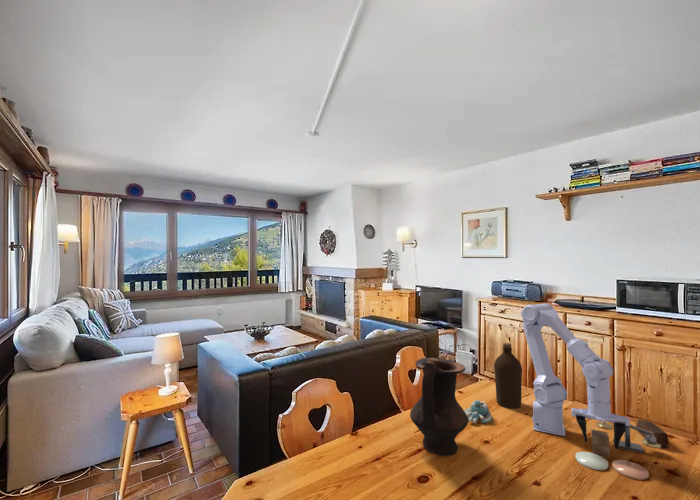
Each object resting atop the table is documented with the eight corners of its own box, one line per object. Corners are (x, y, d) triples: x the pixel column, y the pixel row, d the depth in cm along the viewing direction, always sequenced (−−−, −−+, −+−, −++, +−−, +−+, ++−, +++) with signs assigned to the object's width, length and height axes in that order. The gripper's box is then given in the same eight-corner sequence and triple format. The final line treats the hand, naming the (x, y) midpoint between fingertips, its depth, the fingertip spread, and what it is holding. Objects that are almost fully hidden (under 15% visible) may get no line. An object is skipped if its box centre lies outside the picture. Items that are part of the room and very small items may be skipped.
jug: (420, 427, 124) (419, 344, 125) (474, 440, 114) (471, 350, 115) (399, 456, 105) (397, 359, 106) (460, 475, 96) (457, 367, 97)
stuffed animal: (456, 407, 128) (468, 391, 137) (458, 424, 129) (469, 407, 138) (485, 415, 121) (495, 397, 130) (487, 433, 122) (497, 415, 131)
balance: (598, 444, 111) (597, 416, 111) (596, 437, 115) (595, 411, 115) (663, 457, 103) (661, 428, 103) (658, 450, 107) (657, 421, 107)
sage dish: (576, 465, 100) (576, 462, 100) (574, 451, 107) (574, 449, 107) (610, 473, 96) (610, 470, 96) (606, 458, 103) (606, 456, 103)
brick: (669, 449, 108) (668, 434, 108) (654, 447, 109) (653, 432, 109) (649, 432, 118) (649, 419, 118) (636, 431, 119) (635, 417, 119)
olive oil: (509, 411, 135) (507, 348, 136) (489, 401, 145) (487, 342, 146) (529, 406, 139) (527, 345, 140) (508, 397, 149) (506, 339, 150)
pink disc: (615, 474, 95) (615, 471, 95) (610, 459, 102) (610, 457, 102) (652, 483, 91) (652, 480, 91) (644, 467, 98) (644, 464, 98)
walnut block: (593, 454, 105) (592, 434, 105) (592, 448, 109) (591, 429, 109) (609, 458, 103) (608, 438, 103) (607, 451, 107) (606, 432, 107)
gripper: (572, 399, 106) (573, 444, 106) (631, 408, 99) (633, 456, 99) (570, 392, 113) (572, 433, 112) (626, 400, 105) (628, 444, 105)
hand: (600, 443), depth 106 cm, fingers open, 7 cm apart
